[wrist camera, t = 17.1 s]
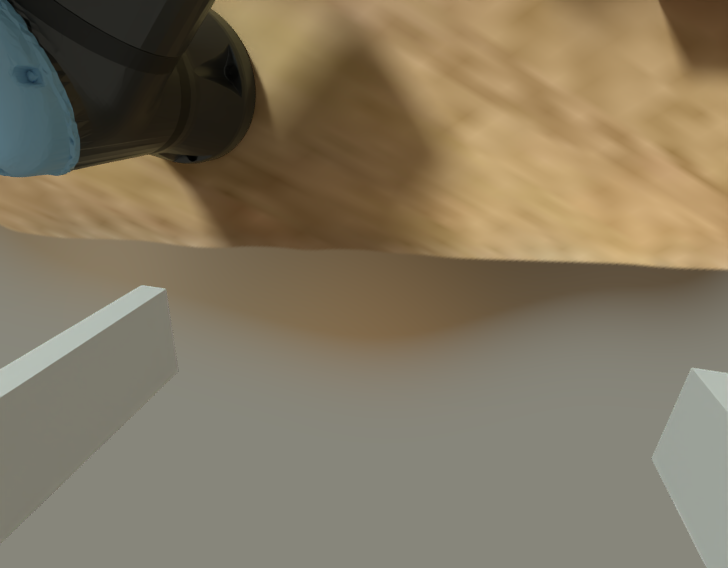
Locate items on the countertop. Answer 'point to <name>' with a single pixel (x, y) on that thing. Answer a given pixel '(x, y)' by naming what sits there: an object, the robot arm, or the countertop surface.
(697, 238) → the countertop surface
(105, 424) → the robot arm
